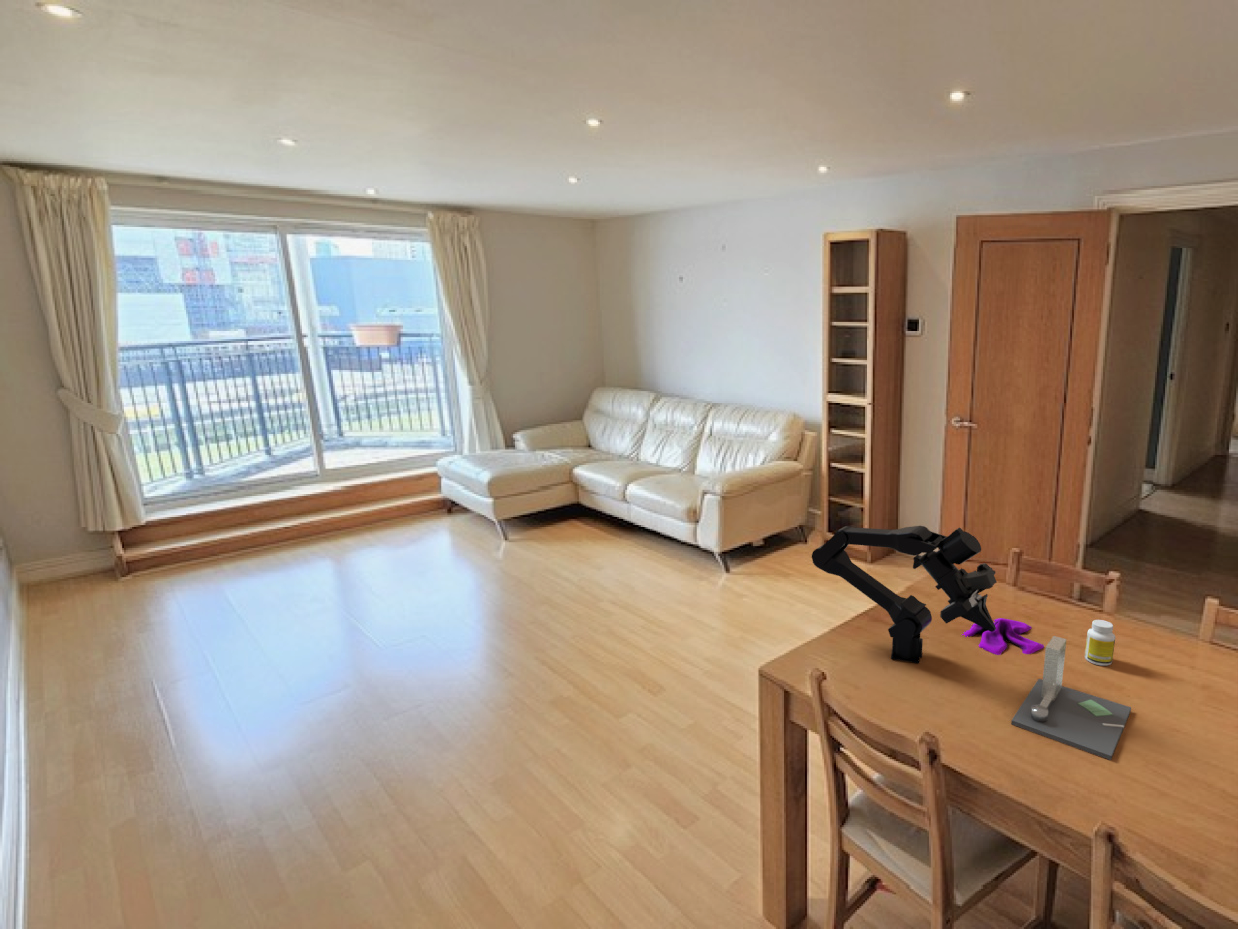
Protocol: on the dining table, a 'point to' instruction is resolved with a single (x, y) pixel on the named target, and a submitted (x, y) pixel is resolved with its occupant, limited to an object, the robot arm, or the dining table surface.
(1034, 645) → the cloth
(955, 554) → the robot arm
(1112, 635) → the supplement bottle
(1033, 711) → the frosted block on spoon
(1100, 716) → the plate
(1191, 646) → the dining table surface
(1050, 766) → the dining table surface
